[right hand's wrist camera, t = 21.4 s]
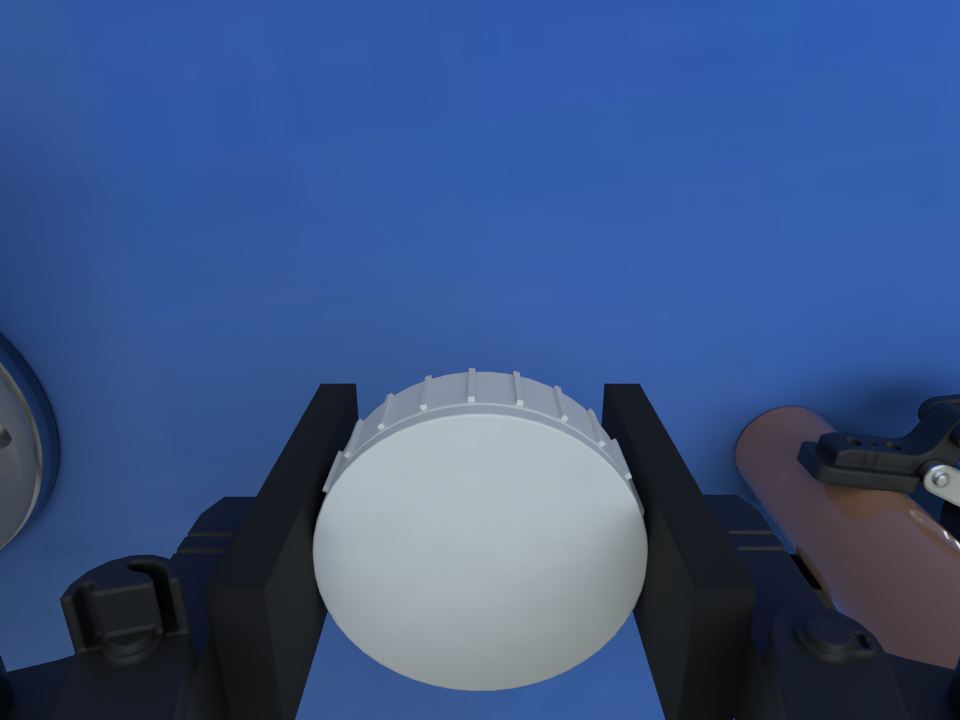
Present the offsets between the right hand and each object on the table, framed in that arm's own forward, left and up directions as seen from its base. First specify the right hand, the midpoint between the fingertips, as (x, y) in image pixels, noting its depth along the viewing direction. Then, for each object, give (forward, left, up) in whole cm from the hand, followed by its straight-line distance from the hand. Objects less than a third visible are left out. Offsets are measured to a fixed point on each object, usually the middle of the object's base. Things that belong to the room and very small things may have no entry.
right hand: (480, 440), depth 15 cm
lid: (0, 0, +4) cm, 4 cm away
